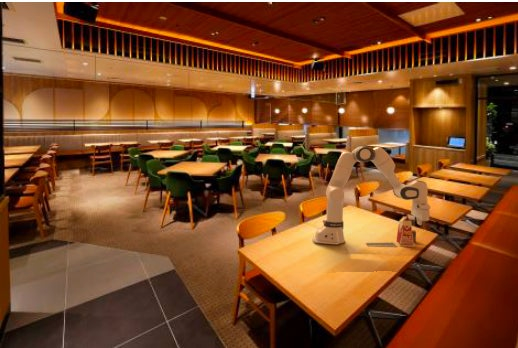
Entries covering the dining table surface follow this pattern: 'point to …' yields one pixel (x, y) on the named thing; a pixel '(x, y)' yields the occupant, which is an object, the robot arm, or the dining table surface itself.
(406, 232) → the milk carton
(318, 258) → the dining table surface
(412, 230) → the walnut block
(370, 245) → the strip
